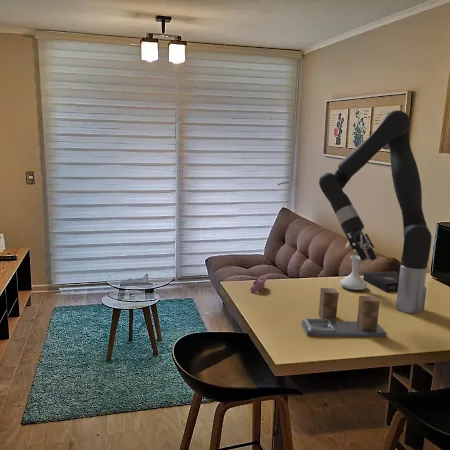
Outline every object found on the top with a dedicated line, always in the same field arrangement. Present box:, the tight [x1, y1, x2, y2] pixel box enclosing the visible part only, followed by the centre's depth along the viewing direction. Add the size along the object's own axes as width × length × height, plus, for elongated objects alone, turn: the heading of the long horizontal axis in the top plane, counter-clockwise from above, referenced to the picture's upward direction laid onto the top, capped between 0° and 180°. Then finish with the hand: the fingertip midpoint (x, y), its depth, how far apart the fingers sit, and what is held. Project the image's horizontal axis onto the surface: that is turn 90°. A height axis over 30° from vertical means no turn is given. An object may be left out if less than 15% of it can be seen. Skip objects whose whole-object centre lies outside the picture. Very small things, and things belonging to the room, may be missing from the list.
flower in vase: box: [339, 240, 368, 291], centre depth 199 cm, size 13×11×25 cm
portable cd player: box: [362, 270, 400, 293], centre depth 208 cm, size 16×17×4 cm
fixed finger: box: [356, 295, 381, 330], centre depth 155 cm, size 5×5×10 cm
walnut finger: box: [318, 287, 340, 321], centre depth 167 cm, size 5×5×10 cm
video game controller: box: [249, 275, 267, 293], centre depth 194 cm, size 10×5×7 cm, turn 168°
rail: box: [301, 317, 387, 338], centre depth 156 cm, size 26×9×2 cm, turn 93°
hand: (369, 259), depth 167 cm, fingers open, 8 cm apart
